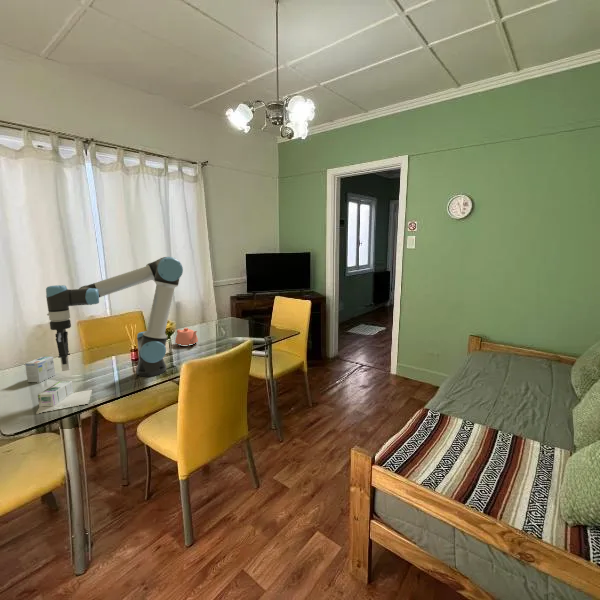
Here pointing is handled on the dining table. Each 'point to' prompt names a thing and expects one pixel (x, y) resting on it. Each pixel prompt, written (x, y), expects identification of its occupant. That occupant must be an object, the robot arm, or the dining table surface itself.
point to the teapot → (186, 337)
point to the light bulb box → (40, 369)
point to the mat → (70, 401)
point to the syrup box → (55, 393)
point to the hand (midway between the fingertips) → (65, 370)
